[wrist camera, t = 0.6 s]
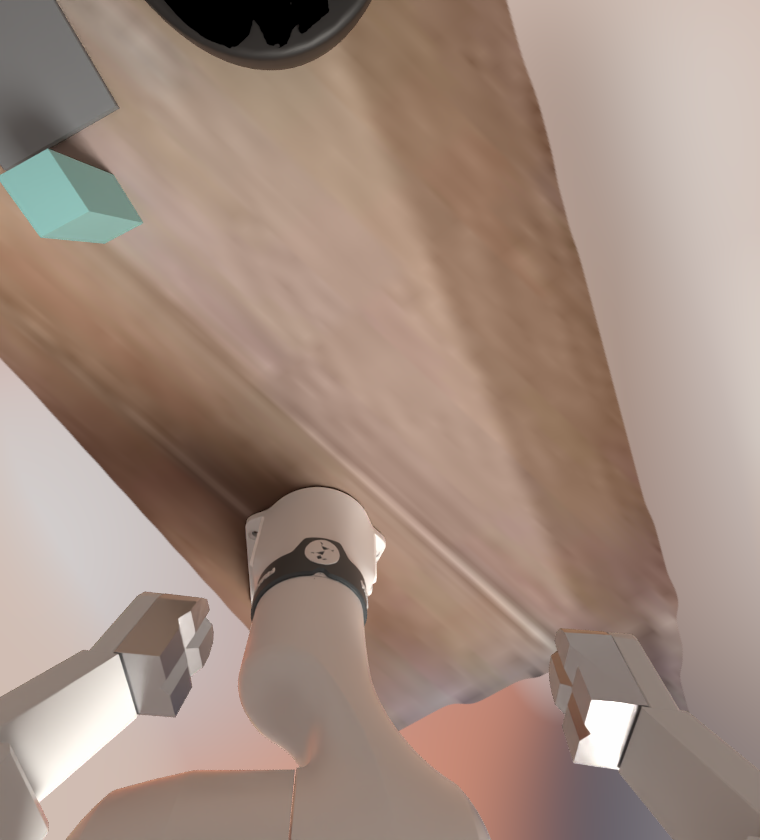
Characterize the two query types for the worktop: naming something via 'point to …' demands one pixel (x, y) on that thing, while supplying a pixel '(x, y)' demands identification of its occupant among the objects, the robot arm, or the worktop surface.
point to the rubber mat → (44, 81)
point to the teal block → (70, 199)
